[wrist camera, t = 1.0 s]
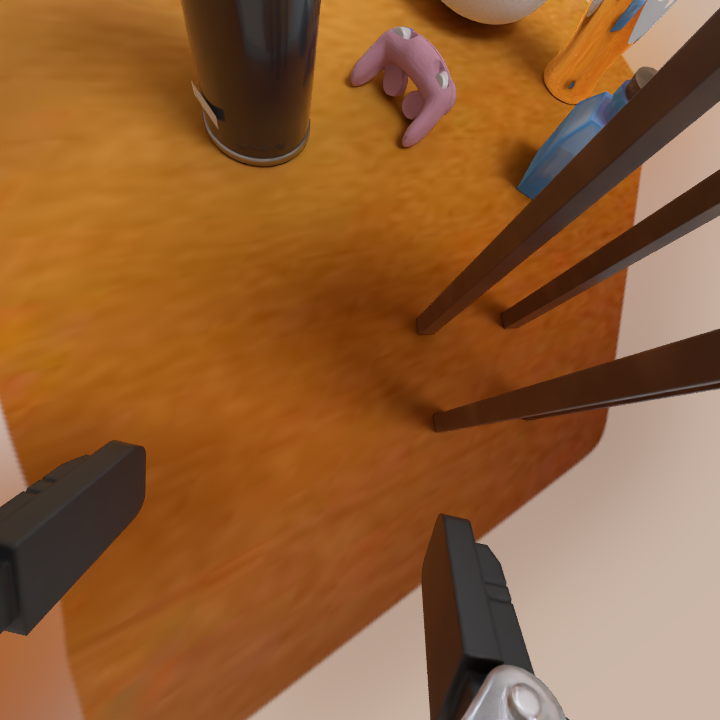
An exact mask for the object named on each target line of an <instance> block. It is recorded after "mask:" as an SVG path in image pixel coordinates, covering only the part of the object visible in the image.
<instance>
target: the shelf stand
mask: <svg viewBox="0 0 720 720" xmlns="http://www.w3.org/2000/svg"><path fill="white" fill-rule="evenodd" d="M719 101H720V8H719V9H718V10H717V11H716V12H715V13H714V14H713V15H712V16H711V17H710V18H709V19H708V21H707V22H706V23H705V24H704V25H703V26H702V27H701V28H700V29H699V30H698V31H697V32H696V33H695V34H694V35H693V36H692V37H691V38H690V39H689V40H688V41H687V42H686V43H685V44H684V45H683V46H682V47H681V48H680V49H679V50H678V51H677V52H676V53H675V54H674V55H673V57H671V58H670V60H669V61H668V62H667V63H666V64H665V65H664V66H663V67H662V68H661V69H660V70H659V71H658V72H657V73H656V74H655V75H654V76H653V77H652V78H651V79H650V80H649V81H648V82H647V83H646V84H645V85H644V86H643V87H642V88H641V89H640V90H639V91H638V92H637V93H636V94H635V95H634V96H633V97H632V98H631V99H630V101H629V102H628V103H627V104H626V105H625V106H624V107H623V108H622V109H621V110H620V111H619V112H618V113H617V114H616V115H615V116H614V117H613V118H612V119H611V120H610V121H609V122H608V123H607V124H606V125H605V126H604V127H603V128H602V129H601V130H600V131H599V132H598V133H597V134H596V135H595V136H594V137H593V138H592V139H591V141H590V142H589V143H588V144H587V145H586V146H585V147H584V148H583V149H582V150H581V151H580V152H579V153H578V154H577V155H576V156H575V157H574V158H573V159H572V160H571V161H570V162H569V163H568V164H567V165H566V166H565V167H564V168H563V169H562V170H561V171H560V172H559V173H558V174H557V175H556V176H555V177H554V178H553V179H552V181H551V182H550V183H549V184H548V185H547V186H546V187H545V188H544V189H543V190H542V191H541V192H540V193H539V194H538V195H537V196H536V197H535V198H534V199H533V200H532V201H531V202H530V203H529V204H528V205H527V206H526V207H525V208H524V209H523V210H522V211H521V212H520V213H519V214H518V215H517V216H516V217H515V218H514V220H513V221H512V222H511V223H510V224H509V225H508V226H507V227H506V228H505V229H504V230H503V231H502V232H501V233H500V234H499V235H498V236H497V237H496V238H495V239H494V240H493V241H492V242H491V243H490V244H489V245H488V246H487V247H486V248H485V249H484V250H483V251H482V252H481V253H480V254H479V255H478V256H477V257H476V258H475V260H474V261H473V262H472V263H471V264H470V265H469V266H468V267H467V268H466V269H465V270H464V271H463V272H462V273H461V274H460V275H459V276H458V277H457V278H456V279H455V280H454V281H453V282H452V283H451V284H450V285H449V286H448V287H447V288H446V289H445V290H444V291H443V292H442V293H441V294H440V295H439V296H438V297H437V299H436V300H435V301H434V302H433V303H432V304H431V305H430V306H429V307H428V308H427V309H426V310H425V311H424V312H423V313H422V314H421V315H420V316H419V317H418V318H417V319H416V322H417V328H418V334H419V335H428V334H435V333H436V332H437V331H438V330H439V329H441V328H442V327H443V326H444V325H446V324H447V323H448V322H449V321H451V320H452V319H453V318H454V317H455V316H457V315H458V314H459V313H460V312H462V311H463V310H464V309H465V308H466V307H468V306H469V305H470V304H471V303H473V302H474V301H475V300H476V299H477V298H479V297H480V296H481V295H482V294H484V293H485V292H486V291H487V290H489V289H490V288H491V287H492V286H493V285H495V284H496V283H497V282H498V281H500V280H501V279H502V278H503V277H504V276H506V275H507V274H508V273H509V272H511V271H512V270H513V269H514V268H515V267H517V266H518V265H519V264H520V263H522V262H523V261H524V260H525V259H527V258H528V257H529V256H530V255H531V254H533V253H534V252H535V251H536V250H538V249H539V248H540V247H541V246H542V245H544V244H545V243H546V242H547V241H549V240H550V239H551V238H552V237H553V236H555V235H556V234H557V233H558V232H560V231H561V230H562V229H563V228H564V227H566V226H567V225H568V224H569V223H571V222H572V221H573V220H574V219H576V218H577V217H578V216H579V215H580V214H582V213H583V212H584V211H585V210H587V209H588V208H589V207H590V206H591V205H593V204H594V203H595V202H596V201H598V200H599V199H600V198H601V197H602V196H604V195H605V194H606V193H607V192H609V191H610V190H611V189H612V188H614V187H615V186H616V185H617V184H618V183H620V182H621V181H622V180H623V179H625V178H626V177H627V176H628V175H629V174H631V173H632V172H633V171H634V170H636V169H637V168H638V167H639V166H640V165H642V164H643V163H644V162H645V161H646V160H648V159H649V158H650V157H652V156H653V155H654V154H655V153H656V152H658V151H659V150H660V149H661V148H662V147H664V146H665V145H666V144H667V143H669V142H670V141H671V140H672V139H674V138H675V137H676V136H677V135H678V134H680V133H681V132H682V131H683V130H684V129H686V128H687V127H688V126H689V125H690V124H692V123H693V122H694V121H696V120H697V119H698V118H699V117H701V116H702V115H703V114H704V113H705V112H706V111H708V110H709V109H710V108H712V107H713V106H714V105H715V104H716V103H718V102H719ZM719 215H720V170H718V171H717V172H715V173H714V174H712V175H711V176H709V177H707V178H706V179H704V180H703V181H701V182H700V183H698V184H697V185H695V186H694V187H692V188H691V189H689V190H688V191H686V192H685V193H683V194H682V195H680V196H679V197H677V198H676V199H674V200H673V201H671V202H670V203H668V204H667V205H665V206H664V207H662V208H661V209H659V210H658V211H656V212H655V213H653V214H652V215H650V216H648V217H647V218H645V219H644V220H643V221H641V222H639V223H638V224H637V225H635V226H633V227H632V228H630V229H629V230H627V231H626V232H624V233H623V234H621V235H620V236H618V237H617V238H615V239H614V240H612V241H611V242H609V243H608V244H606V245H605V246H603V247H602V248H600V249H599V250H597V251H596V252H594V253H593V254H591V255H589V256H588V257H586V258H585V259H583V260H582V261H580V262H579V263H577V264H576V265H574V266H573V267H571V268H570V269H568V270H567V271H565V272H564V273H562V274H561V275H559V276H558V277H556V278H555V279H553V280H552V281H550V282H549V283H547V284H546V285H544V286H543V287H541V288H540V289H538V290H537V291H535V292H534V293H532V294H530V295H529V296H527V297H526V298H524V299H523V300H521V301H520V302H518V303H517V304H515V305H514V306H512V307H511V308H509V309H508V310H506V311H505V312H503V313H502V314H501V316H502V320H503V324H504V328H505V329H507V328H519V327H520V326H522V325H524V324H526V323H527V322H529V321H531V320H533V319H535V318H536V317H538V316H540V315H542V314H544V313H545V312H547V311H549V310H551V309H553V308H554V307H556V306H558V305H560V304H562V303H563V302H565V301H567V300H569V299H571V298H572V297H574V296H576V295H578V294H580V293H581V292H583V291H585V290H587V289H589V288H590V287H592V286H594V285H596V284H598V283H599V282H601V281H603V280H605V279H606V278H608V277H610V276H612V275H614V274H615V273H617V272H619V271H621V270H623V269H624V268H626V267H628V266H630V265H632V264H633V263H635V262H637V261H639V260H641V259H642V258H644V257H646V256H648V255H649V254H651V253H653V252H655V251H657V250H659V249H660V248H662V247H664V246H666V245H667V244H669V243H671V242H673V241H675V240H676V239H678V238H680V237H682V236H684V235H685V234H687V233H689V232H691V231H693V230H694V229H696V228H698V227H700V226H701V225H703V224H705V223H707V222H709V221H711V220H712V219H714V218H716V217H718V216H719ZM716 389H720V329H717V330H713V331H711V332H707V333H704V334H700V335H697V336H694V337H691V338H687V339H684V340H680V341H677V342H674V343H670V344H667V345H664V346H660V347H657V348H654V349H650V350H647V351H644V352H640V353H638V354H634V355H631V356H627V357H624V358H621V359H617V360H614V361H611V362H607V363H604V364H601V365H597V366H594V367H591V368H587V369H584V370H581V371H577V372H574V373H571V374H567V375H564V376H561V377H557V378H554V379H551V380H547V381H544V382H541V383H538V384H534V385H531V386H528V387H524V388H521V389H518V390H514V391H511V392H508V393H504V394H501V395H498V396H494V397H491V398H488V399H484V400H481V401H478V402H474V403H471V404H468V405H464V406H461V407H458V408H455V409H451V410H448V411H445V412H441V413H438V414H435V415H433V417H434V423H435V429H436V432H437V433H439V432H446V431H453V430H458V429H464V428H470V427H475V426H481V425H486V424H492V423H498V422H503V421H509V420H514V419H520V418H525V420H533V419H540V418H546V417H552V416H558V415H565V414H571V413H577V412H583V411H589V410H595V409H601V408H607V407H612V406H619V405H625V404H631V403H637V402H643V401H649V400H655V399H661V398H667V397H673V396H680V395H685V394H692V393H698V392H703V391H710V390H716Z"/></svg>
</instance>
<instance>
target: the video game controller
mask: <svg viewBox="0 0 720 720" xmlns="http://www.w3.org/2000/svg"><path fill="white" fill-rule="evenodd" d="M383 69H385V74H384V79H383V89H384V91H385V93H386V94H387V95H390V96H395V97H399V96H401V95H402V94H403V93H404V92H405V90H406V87H407V83H408V76H409V77H410V79H411V80H412V81H413V83H414V84H415V85H416V87H417V88H418V90H417V91H412V92H410V93H408V94H407V95H406V97H405V98H404V100H403V103H402V110H403V113H404V115H405V116H406V117H407V118H408V119H411V120H414V121H413V122H412V123H411V125H410V126H409V127H408V128H407V130H406V132H405V134H404V136H403V139H402V145H403V146H404V147H410V146H412V145H414V144H416V143H417V142H418V141H420V140H421V139H422V138H423V137H424V136H426V135H427V134H428V133H429V132H430V131H431V129H432V128H433V127H434V126H435V125H436V123H437V122H438V121H439V120H440V119H441V117H442V116H443V115H445V114H447V113H448V112H449V111H450V110H451V108H452V107H453V105H454V103H455V100H456V87H455V84H454V82H453V80H452V79H451V77H450V73H449V70H448V68H447V66H446V64H445V61H444V60H443V58H442V56H441V55H440V53H439V52H438V51H437V49H436V48H435V47H434V46H433V45H432V44H431V43H430V42H429V41H428V40H427V39H426V38H424V37H423V36H421V35H420V34H418V33H416V32H414V31H413V30H412V29H410V28H408V27H395V28H392V29H390V30H388V31H386V32H385V33H383V34H382V35H381V36H380V37H379V39H378V40H377V41H376V42H375V43H374V44H373V45H372V46H371V47H370V48H369V50H368V51H367V52H366V53H365V54H364V55H363V56H362V57H361V58H360V59H359V61H358V62H357V63H356V65H355V66H354V68H353V70H352V73H351V77H350V81H351V83H352V85H354V86H359V85H362V84H364V83H366V82H368V81H369V80H371V79H372V78H373V77H375V76H376V75H377V74H378V73H379V72H381V71H382V70H383Z"/></svg>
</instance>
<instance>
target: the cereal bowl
mask: <svg viewBox="0 0 720 720" xmlns="http://www.w3.org/2000/svg"><path fill="white" fill-rule="evenodd" d="M441 1H442V2H443V3H444V4H445V5H447V6H448V7H449V8H450V9H452V10H453V11H454V12H456V13H457V14H459V15H461V16H463V17H465V18H468V19H470V20H472V21H476V22H479V23H484V24H494V25H497V24H500V25H501V24H508V23H513V22H515V21H518V20H520V19H522V18H525V17H526V16H528V15H530V14H531V13H533V12H534V11H536V10H537V9H538V8H539V7H540V6H541V5H542V4H543V3H544V2H545V1H546V0H441Z"/></svg>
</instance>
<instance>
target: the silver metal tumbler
mask: <svg viewBox="0 0 720 720" xmlns="http://www.w3.org/2000/svg"><path fill="white" fill-rule="evenodd" d="M676 1H677V0H591V1H590V3H589V5H588V7H587V9H586V11H585V13H584V15H583V17H582V19H581V20H580V22H579V24H578V26H577V28H576V30H575V32H574V33H573V35H572V37H571V38H570V40H569V41H568V42H567V44H566V45H565V47H564V48H563V49H562V50H561V51H560V52H559V53H558V54H557V55H556V57H555V58H554V59H553V60H552V61H551V62H550V63H549V64H548V65H547V67H546V68H545V71H544V82H545V84H546V87H547V88H548V90H549V91H550V92H551V93H552V94H553V95H554V96H555V97H556V98H557V99H559V100H561V101H563V102H565V103H568V104H578V103H579V102H580V101H582V100H585V99H587V98H588V97H589V95H590V94H591V92H592V91H593V89H594V88H595V86H596V84H597V83H598V81H599V80H600V78H601V77H602V75H603V74H604V73H605V71H606V70H607V69H608V68H609V67H610V66H611V65H612V64H613V62H614V61H616V60H617V59H618V58H619V57H620V56H621V55H622V54H623V53H624V52H625V51H626V50H627V49H628V48H630V47H631V46H632V45H633V44H634V43H635V42H636V41H637V40H638V39H639V38H641V37H642V36H643V35H644V34H645V33H646V32H647V31H648V30H649V29H650V28H651V27H652V26H653V25H654V24H655V23H656V22H657V21H658V20H659V19H660V18H662V16H663V15H664V14H665V13H666V12H667V11H668V10H669V9H670V8H671V7H672V6H673V4H674V3H675V2H676Z"/></svg>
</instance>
